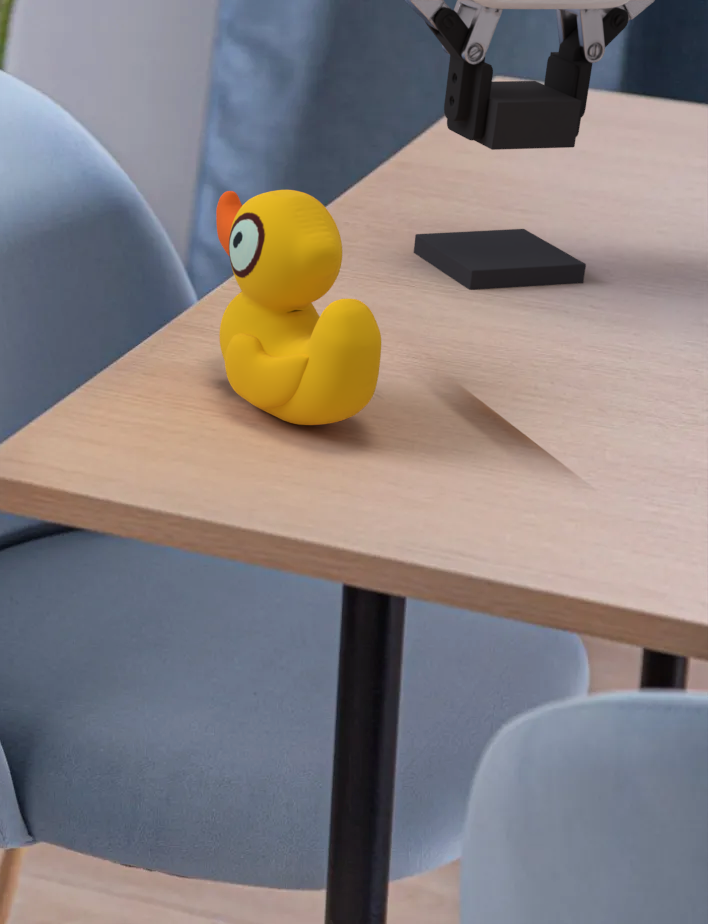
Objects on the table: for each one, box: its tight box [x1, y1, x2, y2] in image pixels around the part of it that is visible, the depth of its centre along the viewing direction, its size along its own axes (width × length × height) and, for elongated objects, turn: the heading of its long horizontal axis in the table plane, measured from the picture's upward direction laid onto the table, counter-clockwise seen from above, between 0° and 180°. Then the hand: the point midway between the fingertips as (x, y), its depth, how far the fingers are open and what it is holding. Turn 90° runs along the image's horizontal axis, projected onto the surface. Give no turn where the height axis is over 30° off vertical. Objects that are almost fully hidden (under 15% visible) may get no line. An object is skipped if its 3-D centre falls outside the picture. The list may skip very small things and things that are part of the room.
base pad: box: [413, 228, 587, 291], centre depth 99 cm, size 7×7×2 cm
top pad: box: [473, 80, 581, 151], centre depth 95 cm, size 5×5×2 cm
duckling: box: [215, 189, 382, 426], centre depth 79 cm, size 11×5×10 cm, turn 32°
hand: (512, 129), depth 95 cm, fingers closed on top pad, 5 cm apart
